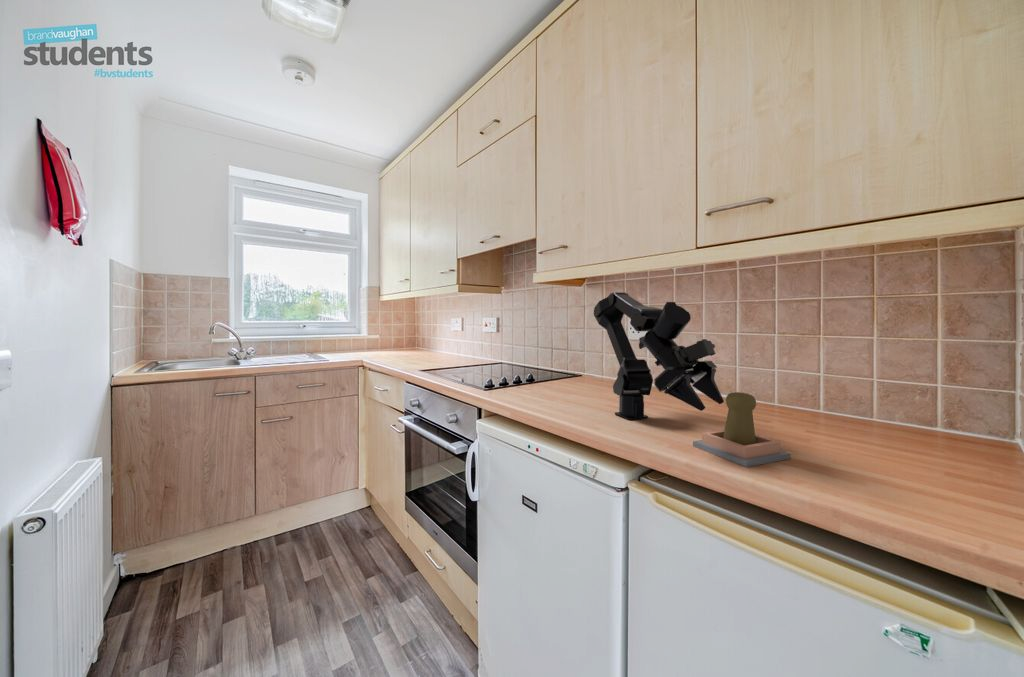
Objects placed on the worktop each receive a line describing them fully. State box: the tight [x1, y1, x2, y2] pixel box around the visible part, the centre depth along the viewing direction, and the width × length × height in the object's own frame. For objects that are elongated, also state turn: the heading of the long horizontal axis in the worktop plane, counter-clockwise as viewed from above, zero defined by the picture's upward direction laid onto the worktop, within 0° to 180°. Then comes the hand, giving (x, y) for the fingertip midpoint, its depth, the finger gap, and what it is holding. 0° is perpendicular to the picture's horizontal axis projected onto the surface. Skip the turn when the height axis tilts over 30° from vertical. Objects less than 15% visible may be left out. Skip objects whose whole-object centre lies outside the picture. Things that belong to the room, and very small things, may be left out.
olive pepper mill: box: [723, 391, 757, 446], centre depth 74 cm, size 6×6×11 cm
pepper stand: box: [692, 429, 792, 468], centre depth 74 cm, size 12×12×3 cm
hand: (713, 406), depth 78 cm, fingers open, 9 cm apart
